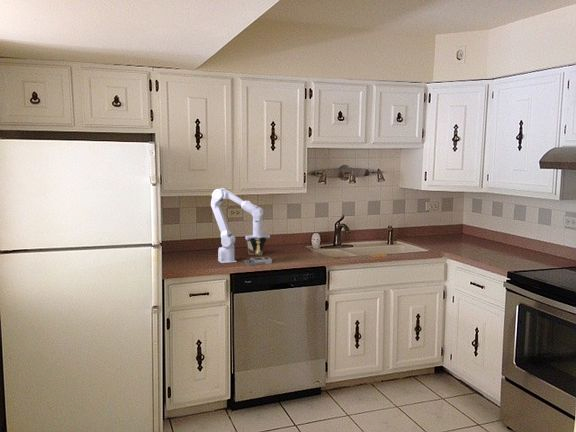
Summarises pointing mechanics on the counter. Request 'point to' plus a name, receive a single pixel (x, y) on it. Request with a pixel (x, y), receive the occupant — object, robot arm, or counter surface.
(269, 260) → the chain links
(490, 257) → the counter surface
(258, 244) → the brass pin
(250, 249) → the food container
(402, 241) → the counter surface
